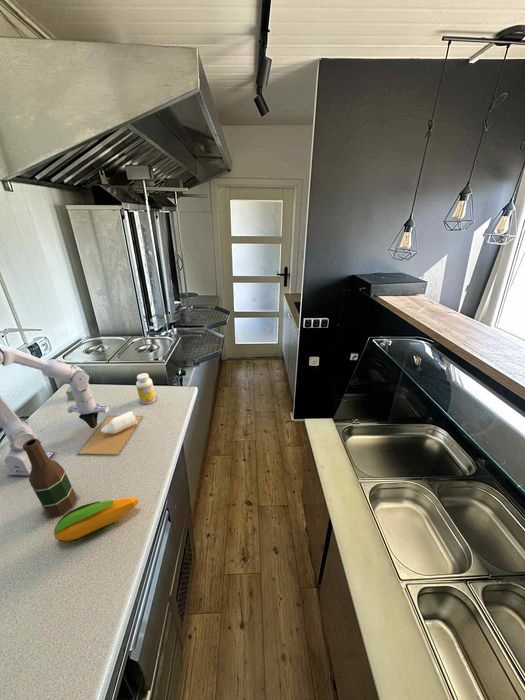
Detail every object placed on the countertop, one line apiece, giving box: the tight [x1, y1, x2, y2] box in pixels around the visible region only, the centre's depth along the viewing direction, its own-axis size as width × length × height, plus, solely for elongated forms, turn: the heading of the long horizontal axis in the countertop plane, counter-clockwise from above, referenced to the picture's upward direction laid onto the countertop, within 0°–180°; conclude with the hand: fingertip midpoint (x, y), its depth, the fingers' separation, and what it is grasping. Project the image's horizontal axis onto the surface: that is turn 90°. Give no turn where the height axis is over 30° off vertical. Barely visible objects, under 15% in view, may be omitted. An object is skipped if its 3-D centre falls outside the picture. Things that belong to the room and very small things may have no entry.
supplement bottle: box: [135, 372, 157, 405], centre depth 126 cm, size 7×7×13 cm
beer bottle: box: [23, 438, 77, 517], centre depth 78 cm, size 8×8×24 cm
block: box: [65, 386, 75, 401], centre depth 131 cm, size 4×4×4 cm
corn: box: [53, 496, 139, 543], centre depth 76 cm, size 7×8×20 cm
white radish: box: [101, 410, 138, 433], centre depth 110 cm, size 6×12×6 cm, turn 133°
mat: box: [78, 416, 142, 456], centre depth 109 cm, size 20×14×1 cm
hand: (94, 426), depth 110 cm, fingers closed
